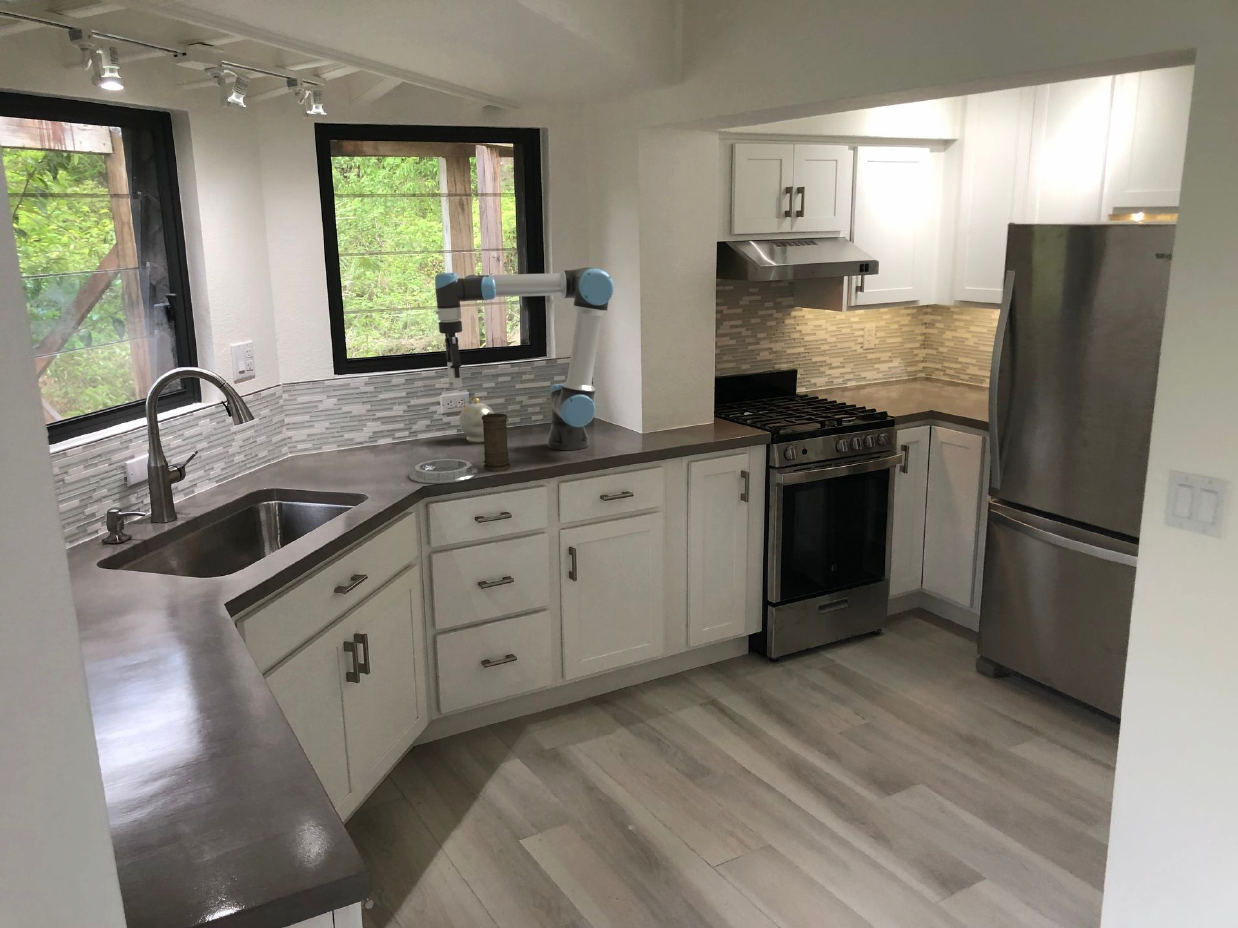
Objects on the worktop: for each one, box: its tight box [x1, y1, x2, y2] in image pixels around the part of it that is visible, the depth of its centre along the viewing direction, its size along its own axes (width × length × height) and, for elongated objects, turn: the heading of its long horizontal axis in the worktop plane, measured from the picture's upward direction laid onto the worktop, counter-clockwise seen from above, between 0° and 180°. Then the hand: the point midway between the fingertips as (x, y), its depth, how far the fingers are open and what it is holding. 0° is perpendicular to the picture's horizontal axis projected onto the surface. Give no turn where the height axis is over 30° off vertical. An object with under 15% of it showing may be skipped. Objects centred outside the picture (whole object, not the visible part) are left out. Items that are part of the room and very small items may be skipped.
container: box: [482, 413, 511, 472], centre depth 322 cm, size 9×9×18 cm
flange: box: [409, 458, 479, 485], centre depth 316 cm, size 22×22×3 cm
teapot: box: [458, 397, 495, 444], centre depth 362 cm, size 18×14×16 cm
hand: (455, 384), depth 325 cm, fingers open, 13 cm apart
